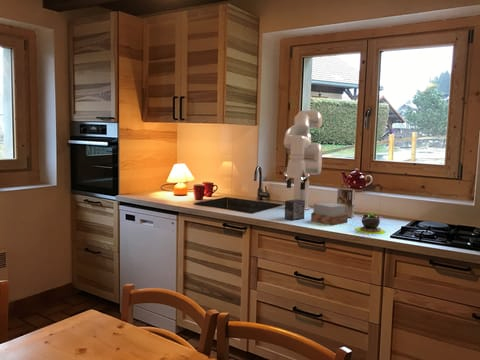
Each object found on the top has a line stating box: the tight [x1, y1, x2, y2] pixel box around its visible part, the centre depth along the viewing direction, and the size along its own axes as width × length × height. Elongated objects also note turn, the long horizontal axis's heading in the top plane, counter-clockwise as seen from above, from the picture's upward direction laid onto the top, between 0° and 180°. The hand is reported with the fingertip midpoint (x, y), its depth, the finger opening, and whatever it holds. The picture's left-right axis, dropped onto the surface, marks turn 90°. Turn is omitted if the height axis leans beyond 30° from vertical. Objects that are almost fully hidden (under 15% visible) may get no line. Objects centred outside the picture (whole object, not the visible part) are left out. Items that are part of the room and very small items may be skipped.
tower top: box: [312, 201, 345, 216], centre depth 241 cm, size 12×12×5 cm
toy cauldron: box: [354, 208, 386, 235], centre depth 222 cm, size 15×15×11 cm
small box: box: [284, 199, 306, 221], centre depth 247 cm, size 11×6×10 cm, turn 135°
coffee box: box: [336, 188, 356, 219], centre depth 259 cm, size 9×6×16 cm
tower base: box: [310, 212, 348, 227], centre depth 242 cm, size 14×14×5 cm
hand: (295, 188), depth 245 cm, fingers open, 9 cm apart
